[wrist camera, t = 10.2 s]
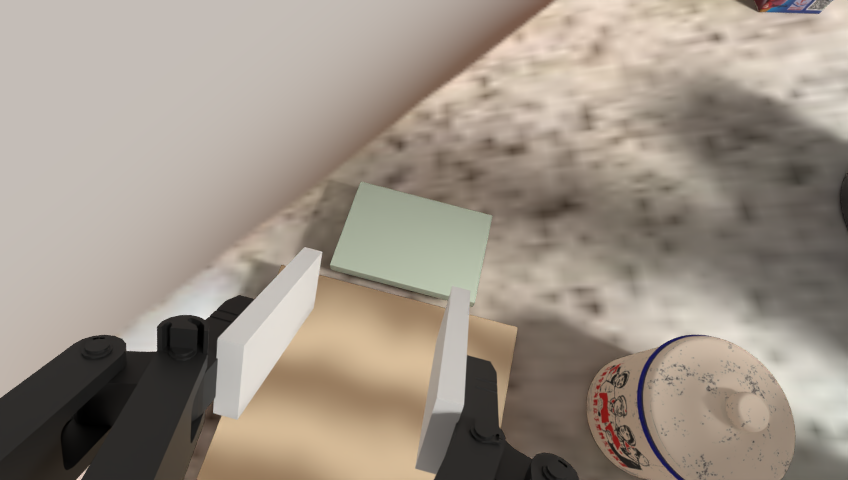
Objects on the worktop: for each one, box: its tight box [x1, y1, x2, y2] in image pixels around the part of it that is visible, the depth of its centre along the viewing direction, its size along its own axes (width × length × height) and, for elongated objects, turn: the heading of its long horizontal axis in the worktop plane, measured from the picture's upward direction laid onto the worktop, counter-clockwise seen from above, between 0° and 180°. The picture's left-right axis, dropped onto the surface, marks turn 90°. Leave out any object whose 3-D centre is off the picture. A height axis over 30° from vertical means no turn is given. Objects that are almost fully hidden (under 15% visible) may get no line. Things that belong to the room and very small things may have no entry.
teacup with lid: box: [587, 335, 795, 480], centre depth 29 cm, size 12×9×12 cm
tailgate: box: [330, 182, 492, 307], centre depth 36 cm, size 2×11×8 cm
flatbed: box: [196, 265, 518, 480], centre depth 29 cm, size 17×18×9 cm
